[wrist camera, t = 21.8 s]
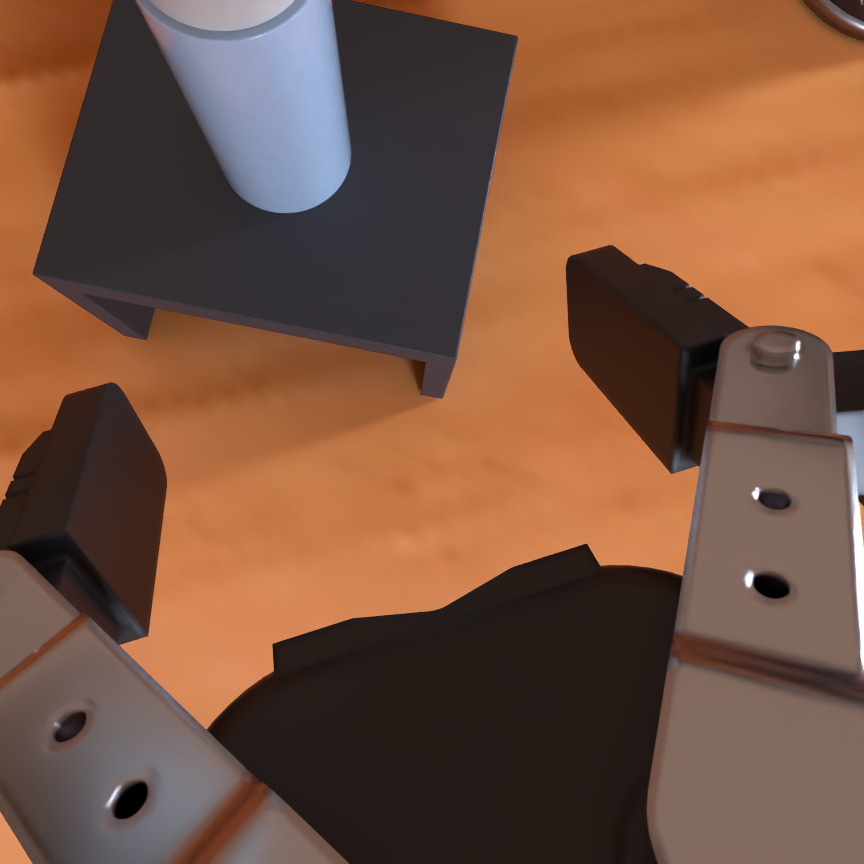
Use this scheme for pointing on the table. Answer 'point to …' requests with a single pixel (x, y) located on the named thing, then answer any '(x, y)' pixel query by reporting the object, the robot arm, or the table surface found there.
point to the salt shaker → (261, 92)
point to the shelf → (301, 231)
